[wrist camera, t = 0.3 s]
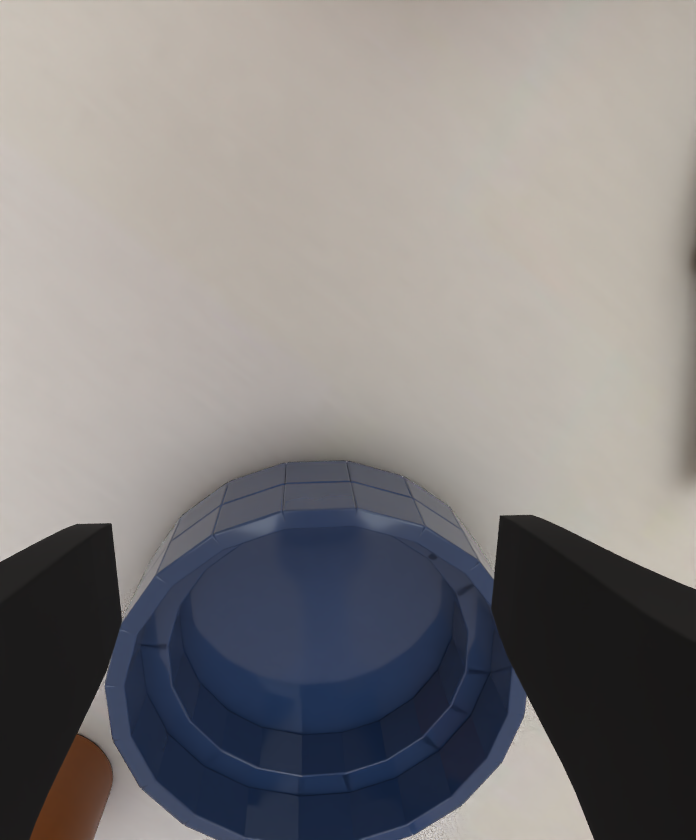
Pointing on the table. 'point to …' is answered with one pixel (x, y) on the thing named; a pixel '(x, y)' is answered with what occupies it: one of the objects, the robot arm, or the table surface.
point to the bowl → (313, 661)
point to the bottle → (76, 795)
